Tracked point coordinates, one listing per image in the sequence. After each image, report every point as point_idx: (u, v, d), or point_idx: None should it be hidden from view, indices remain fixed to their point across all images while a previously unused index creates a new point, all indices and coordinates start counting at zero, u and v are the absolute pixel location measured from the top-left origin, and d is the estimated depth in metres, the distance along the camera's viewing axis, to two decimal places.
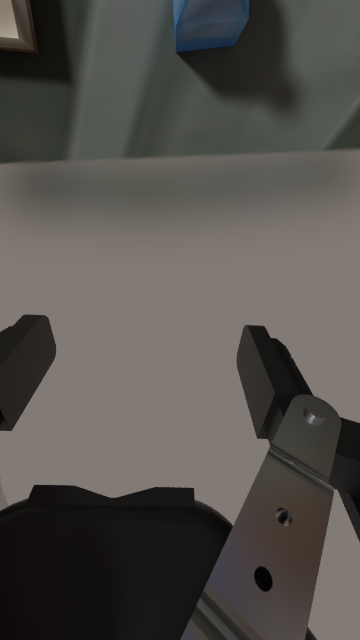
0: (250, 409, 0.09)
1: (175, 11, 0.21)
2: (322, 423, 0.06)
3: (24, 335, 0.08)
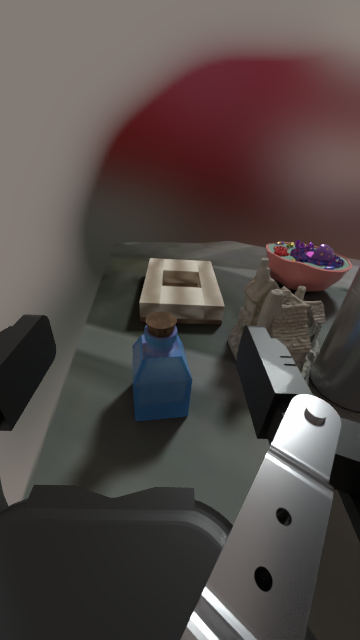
0: (250, 409, 0.09)
1: None
2: (322, 423, 0.06)
3: (24, 335, 0.08)
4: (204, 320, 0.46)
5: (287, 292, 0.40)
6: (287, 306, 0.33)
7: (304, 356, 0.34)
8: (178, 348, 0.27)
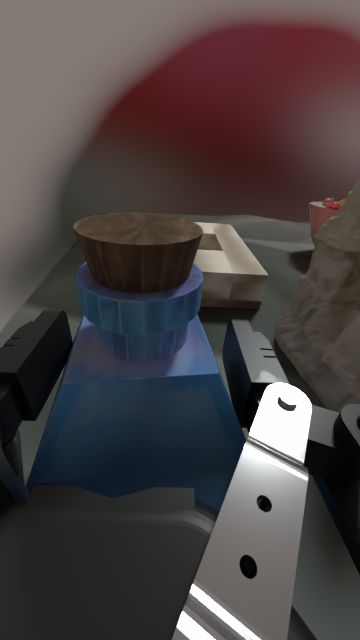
0: (232, 400, 0.09)
1: None
2: (293, 409, 0.06)
3: (46, 329, 0.09)
4: (231, 301, 0.27)
5: None
6: None
7: None
8: (203, 344, 0.08)
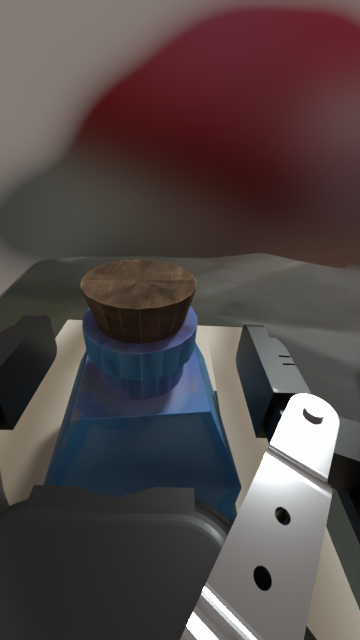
0: (249, 408, 0.09)
1: None
2: (320, 422, 0.06)
3: (25, 335, 0.09)
4: None
5: None
6: None
7: None
8: (198, 380, 0.09)
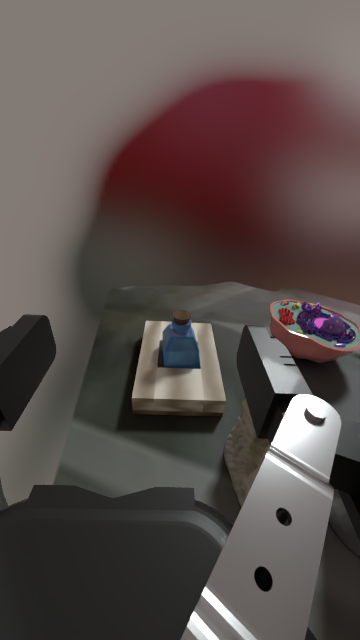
0: (250, 409, 0.09)
1: None
2: (322, 423, 0.06)
3: (24, 335, 0.08)
4: (203, 412, 0.42)
5: None
6: None
7: None
8: (191, 332, 0.46)
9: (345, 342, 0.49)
